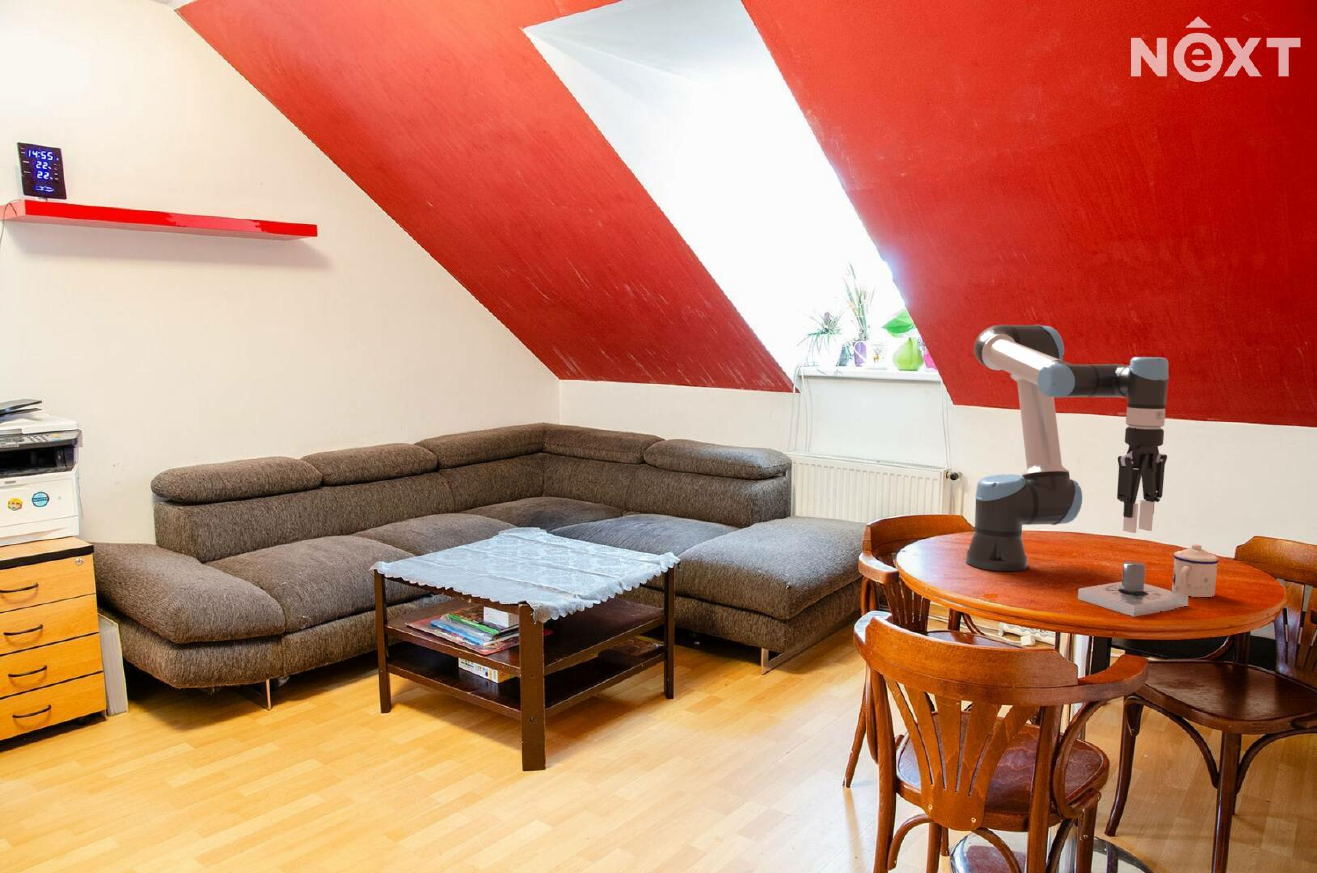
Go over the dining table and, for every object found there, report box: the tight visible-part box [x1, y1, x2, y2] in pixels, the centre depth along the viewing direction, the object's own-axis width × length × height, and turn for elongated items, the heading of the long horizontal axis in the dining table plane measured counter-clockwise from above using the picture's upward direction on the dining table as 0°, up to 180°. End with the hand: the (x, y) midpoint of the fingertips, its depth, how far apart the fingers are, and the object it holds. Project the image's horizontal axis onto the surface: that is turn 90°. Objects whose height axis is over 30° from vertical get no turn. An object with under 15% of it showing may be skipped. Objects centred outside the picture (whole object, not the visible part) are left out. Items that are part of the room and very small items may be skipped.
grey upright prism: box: [1121, 561, 1146, 596], centre depth 202 cm, size 4×4×9 cm
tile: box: [1077, 581, 1189, 617], centre depth 203 cm, size 14×18×2 cm
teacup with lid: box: [1171, 543, 1219, 598], centre depth 209 cm, size 12×9×12 cm
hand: (1137, 530), depth 201 cm, fingers open, 4 cm apart
